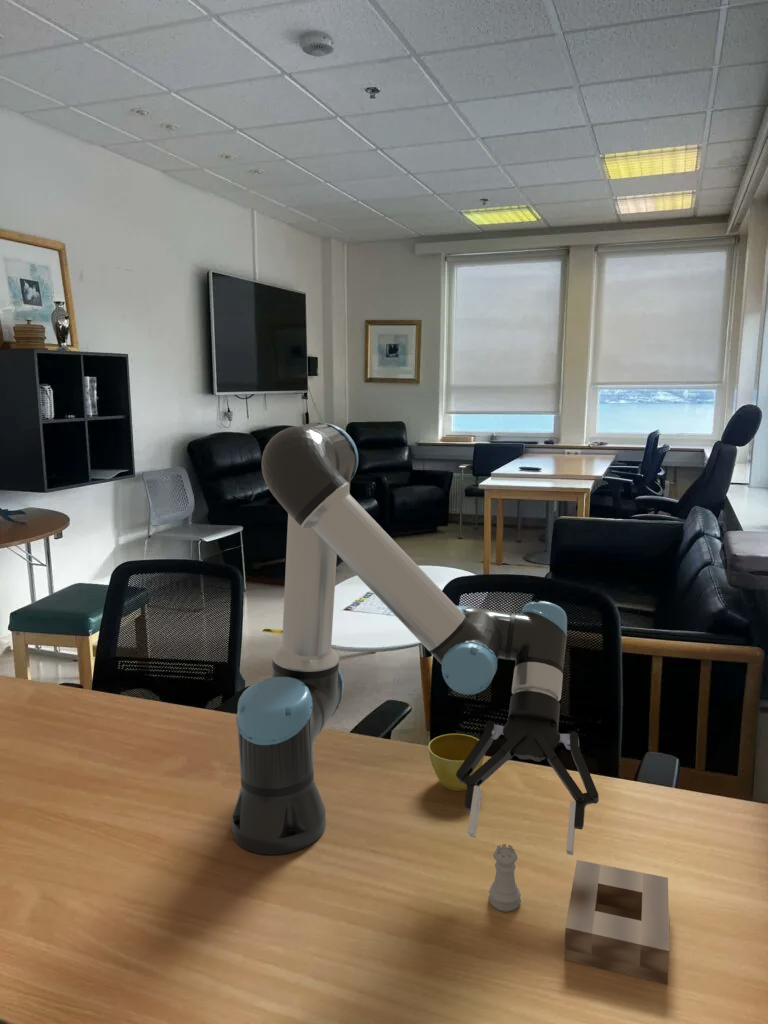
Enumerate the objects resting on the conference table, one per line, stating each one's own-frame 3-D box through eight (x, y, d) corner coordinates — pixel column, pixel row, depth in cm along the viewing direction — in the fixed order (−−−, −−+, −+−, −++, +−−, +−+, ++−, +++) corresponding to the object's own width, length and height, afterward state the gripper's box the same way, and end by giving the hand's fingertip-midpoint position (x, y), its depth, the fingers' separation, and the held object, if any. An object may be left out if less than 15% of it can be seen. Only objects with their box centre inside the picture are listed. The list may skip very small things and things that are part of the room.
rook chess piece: (520, 915, 101) (521, 861, 99) (487, 911, 101) (487, 858, 100) (521, 893, 105) (522, 841, 104) (489, 889, 106) (489, 838, 104)
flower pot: (483, 801, 128) (484, 762, 127) (425, 796, 130) (425, 758, 129) (486, 771, 138) (486, 735, 137) (431, 767, 140) (431, 731, 138)
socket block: (564, 959, 93) (565, 927, 92) (575, 888, 106) (576, 859, 105) (667, 984, 89) (669, 951, 88) (666, 907, 102) (667, 877, 101)
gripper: (620, 716, 114) (613, 866, 103) (460, 698, 122) (437, 834, 111) (620, 698, 108) (612, 854, 97) (452, 679, 116) (427, 821, 105)
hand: (519, 844), depth 104 cm, fingers open, 13 cm apart
